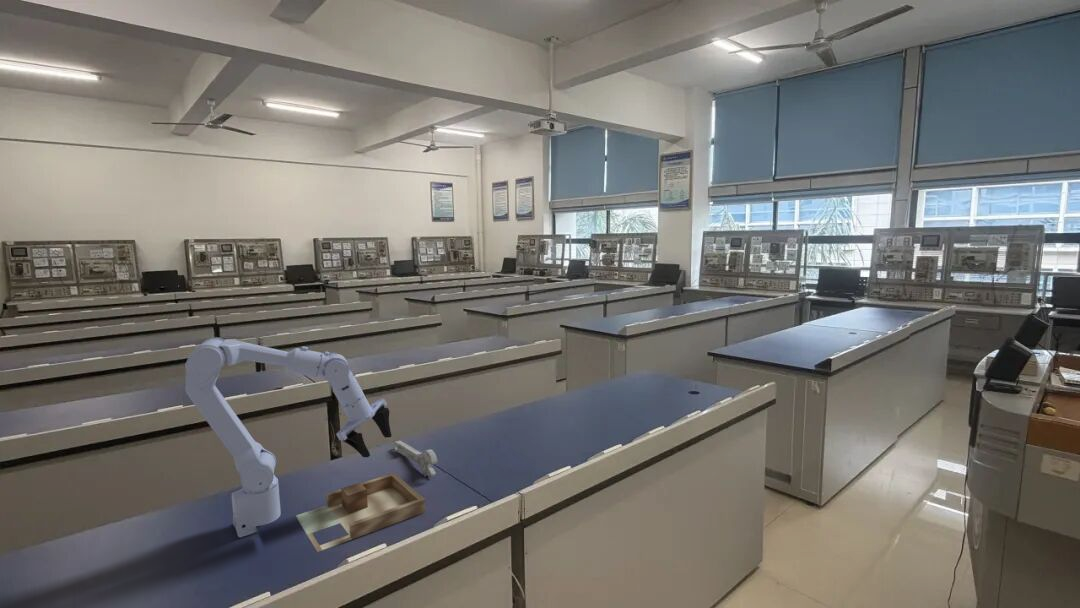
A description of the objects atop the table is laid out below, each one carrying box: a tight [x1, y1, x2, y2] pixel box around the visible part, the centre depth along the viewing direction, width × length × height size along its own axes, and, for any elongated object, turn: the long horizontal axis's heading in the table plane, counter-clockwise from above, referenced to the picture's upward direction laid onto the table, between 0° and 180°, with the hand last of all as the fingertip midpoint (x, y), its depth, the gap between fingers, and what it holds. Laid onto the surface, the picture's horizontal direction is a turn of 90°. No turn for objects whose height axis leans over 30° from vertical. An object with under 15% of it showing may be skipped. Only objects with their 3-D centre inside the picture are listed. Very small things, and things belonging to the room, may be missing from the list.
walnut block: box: [340, 482, 368, 514], centre depth 119 cm, size 4×4×4 cm
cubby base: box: [295, 472, 426, 553], centre depth 116 cm, size 24×18×4 cm
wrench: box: [393, 440, 439, 478], centre depth 144 cm, size 8×2×30 cm
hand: (377, 446), depth 124 cm, fingers open, 7 cm apart
